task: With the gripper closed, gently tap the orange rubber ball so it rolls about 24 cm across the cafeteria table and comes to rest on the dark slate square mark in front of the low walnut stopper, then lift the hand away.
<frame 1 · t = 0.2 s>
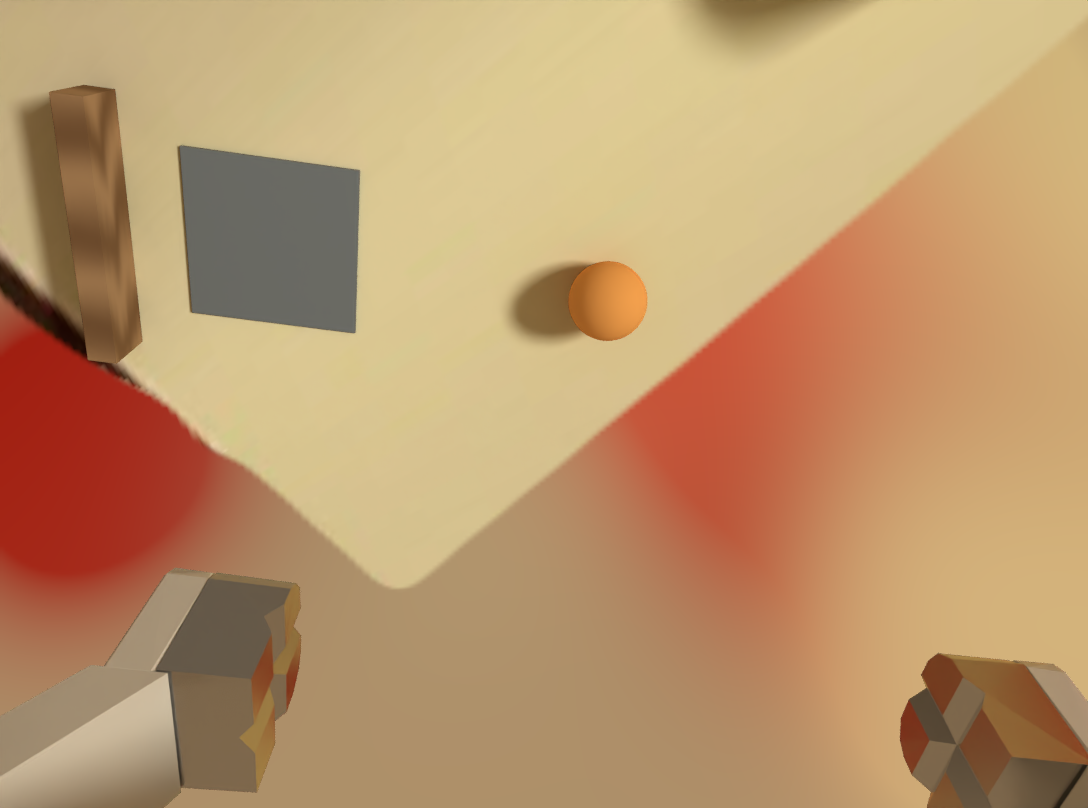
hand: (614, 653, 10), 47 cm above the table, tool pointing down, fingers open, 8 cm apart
stopper wall: (115, 222, 56), on the table
ball: (607, 301, 55), on the table
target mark: (272, 243, 56), on the table
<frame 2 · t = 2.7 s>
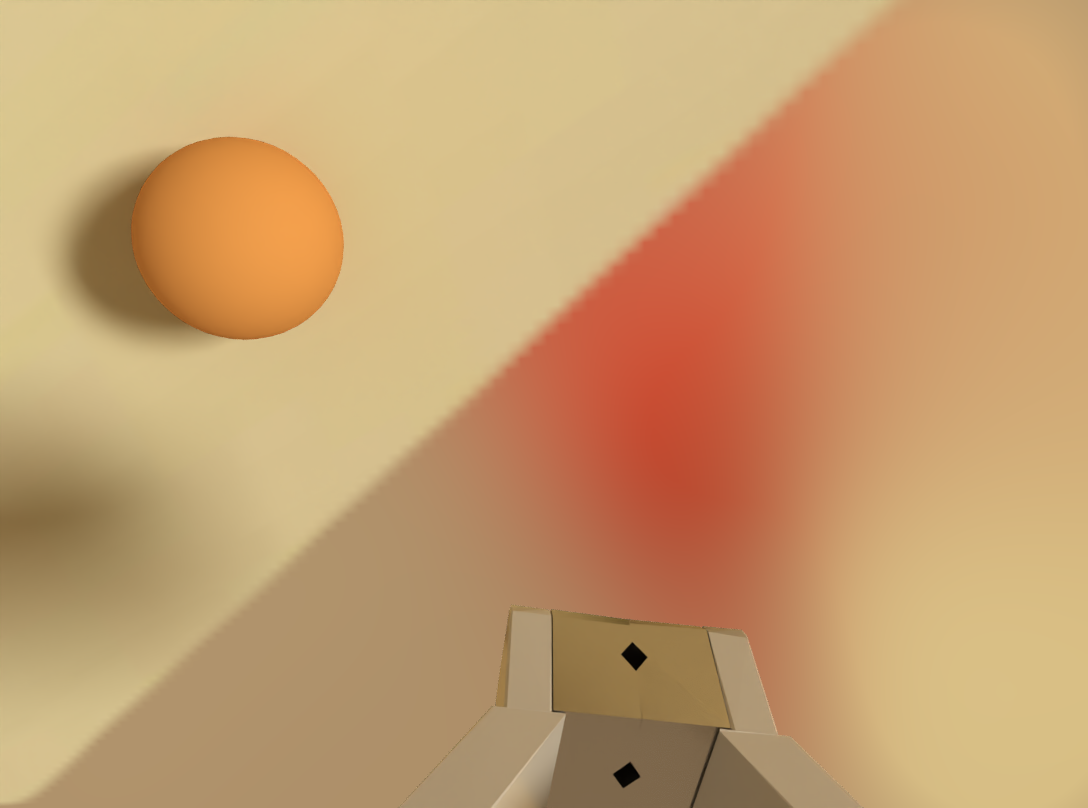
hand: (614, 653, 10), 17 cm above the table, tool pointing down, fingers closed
ball: (242, 240, 22), on the table
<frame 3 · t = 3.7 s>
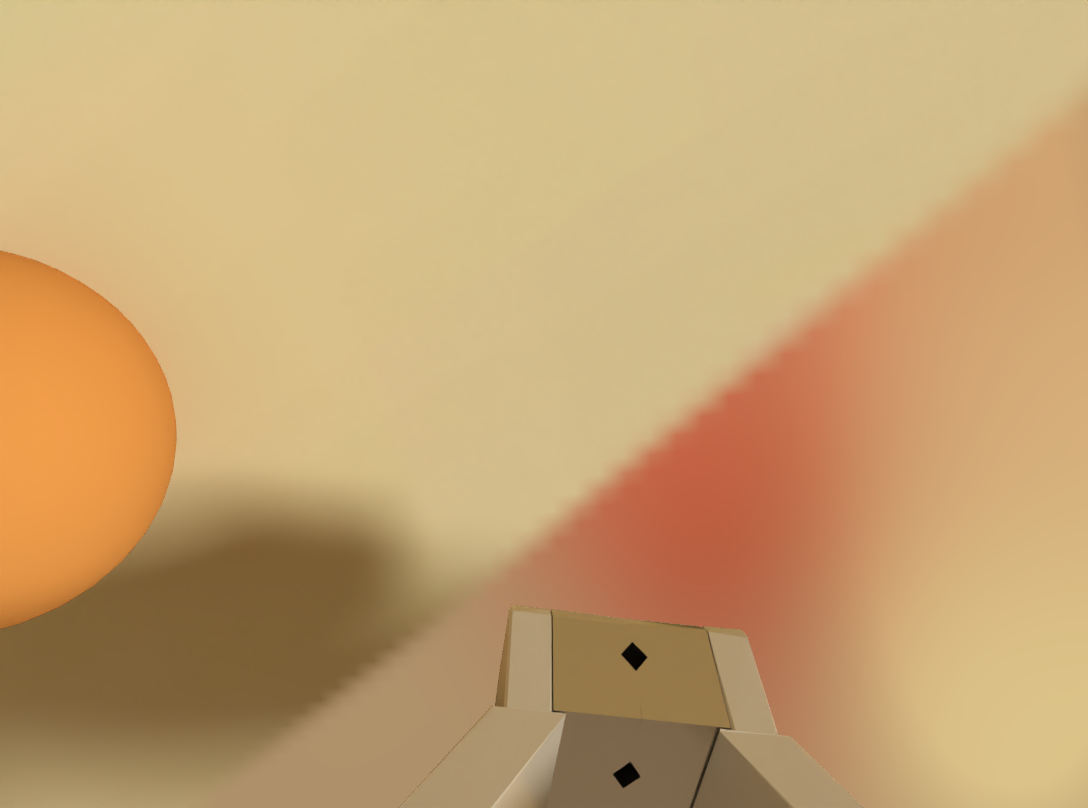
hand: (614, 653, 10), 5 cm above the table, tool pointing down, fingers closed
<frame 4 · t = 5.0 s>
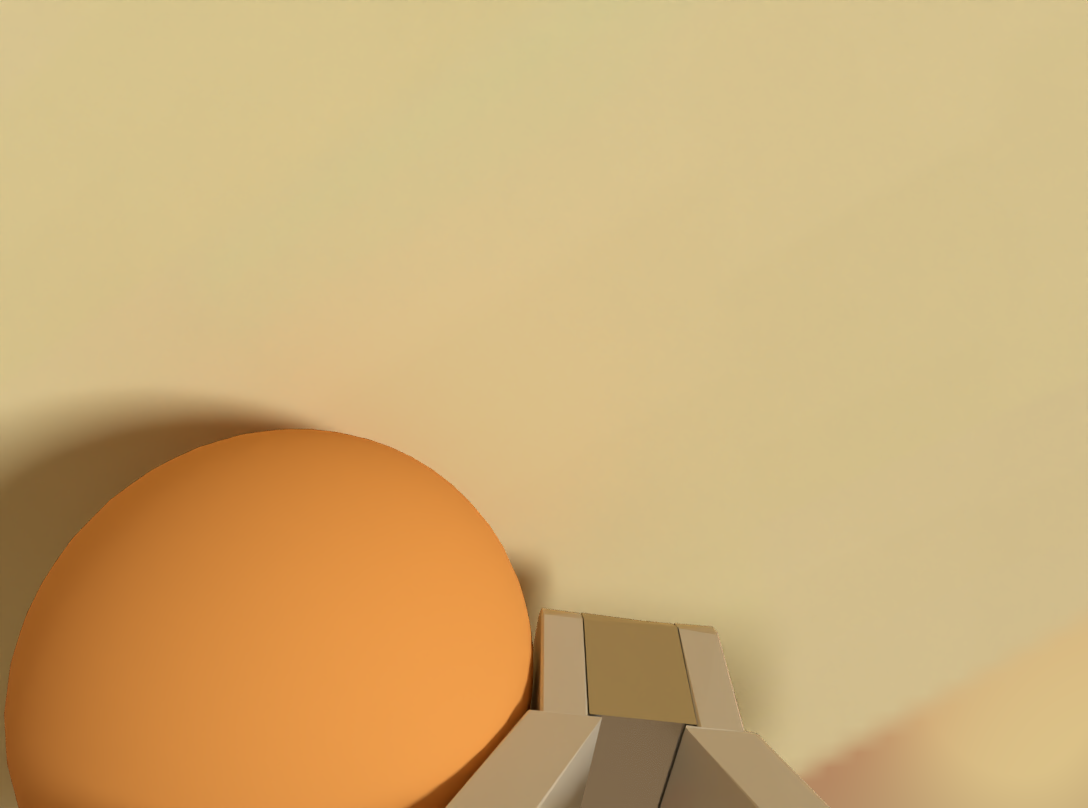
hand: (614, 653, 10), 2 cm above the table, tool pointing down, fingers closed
ball: (294, 668, 9), on the table, touching gripper
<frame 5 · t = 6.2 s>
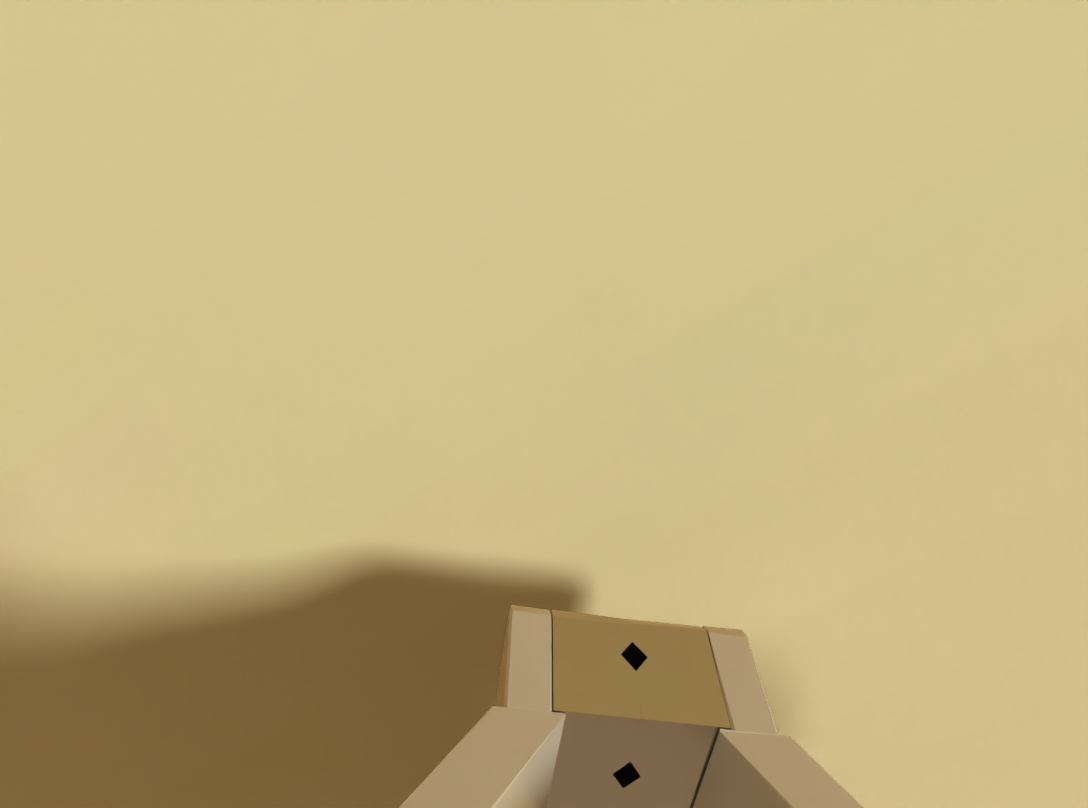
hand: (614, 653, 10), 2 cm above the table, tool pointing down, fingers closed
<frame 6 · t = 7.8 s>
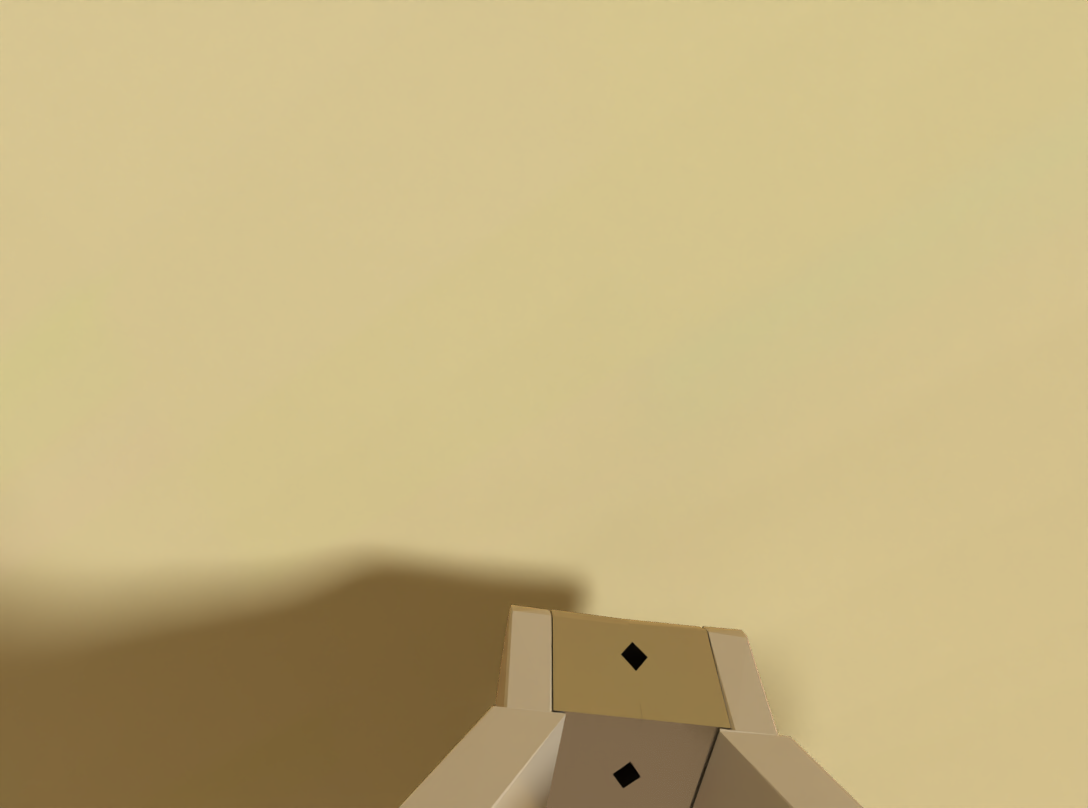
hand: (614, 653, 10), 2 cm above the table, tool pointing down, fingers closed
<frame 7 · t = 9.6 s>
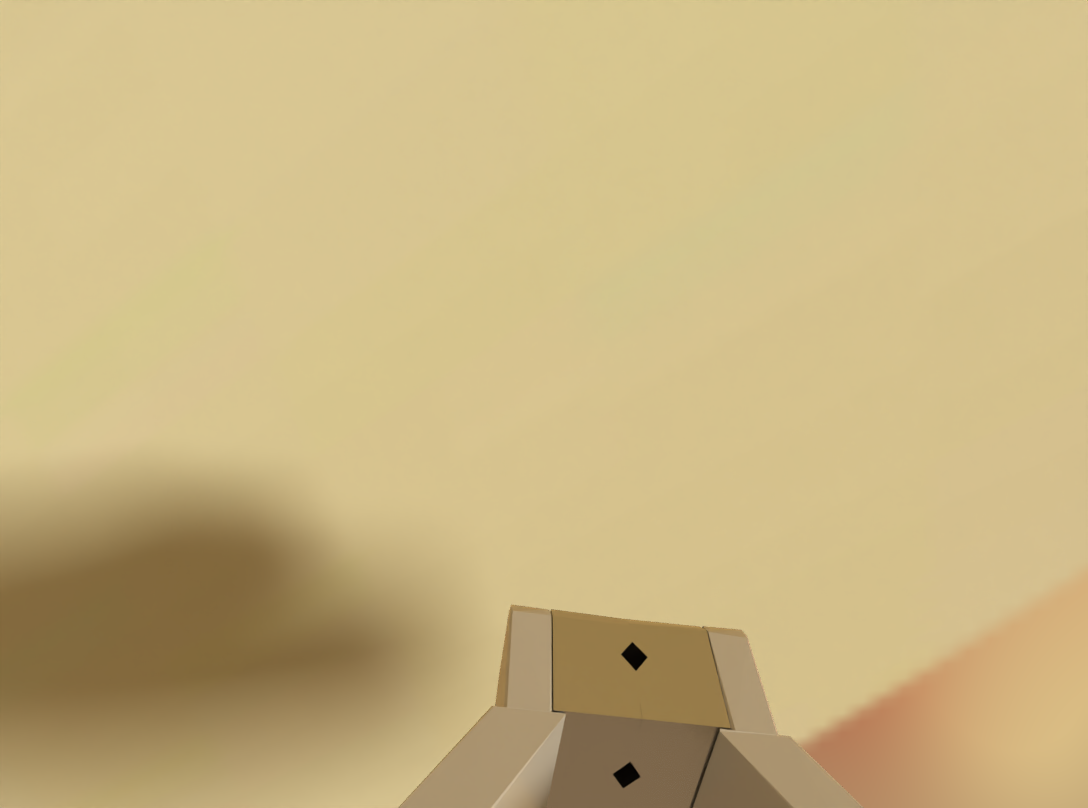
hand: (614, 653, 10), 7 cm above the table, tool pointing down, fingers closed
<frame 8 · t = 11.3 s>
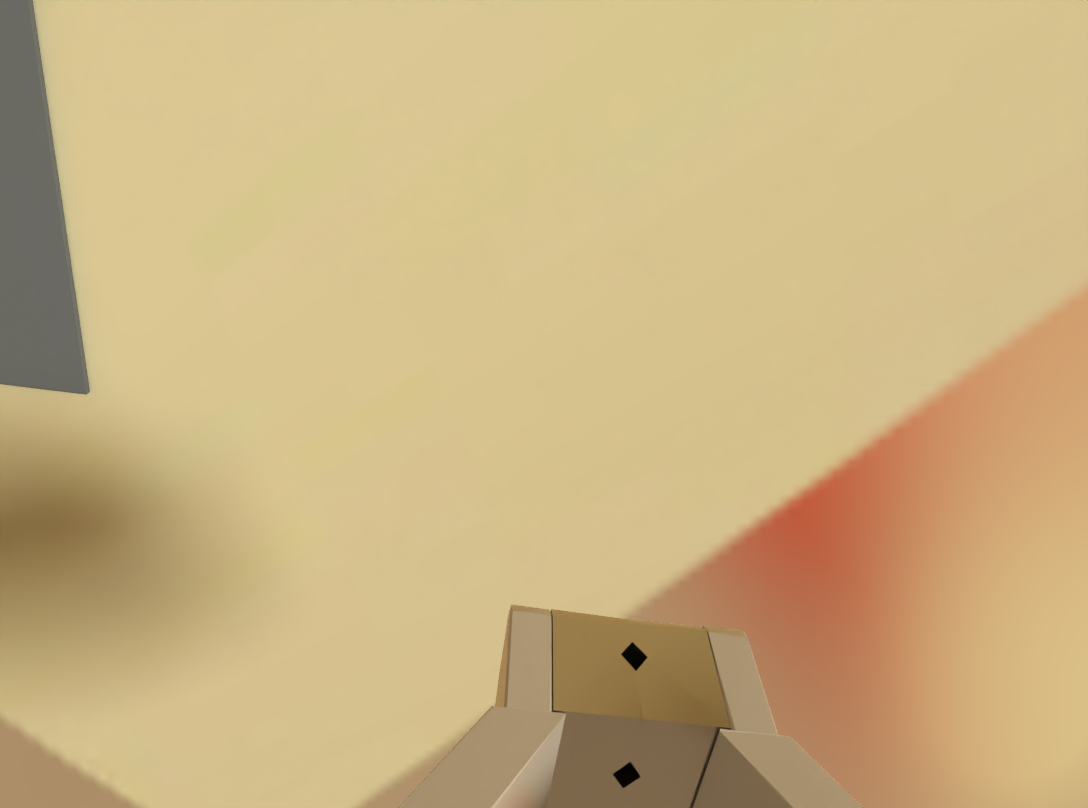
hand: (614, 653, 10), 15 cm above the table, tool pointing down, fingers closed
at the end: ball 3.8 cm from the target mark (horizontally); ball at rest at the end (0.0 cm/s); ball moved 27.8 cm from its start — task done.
